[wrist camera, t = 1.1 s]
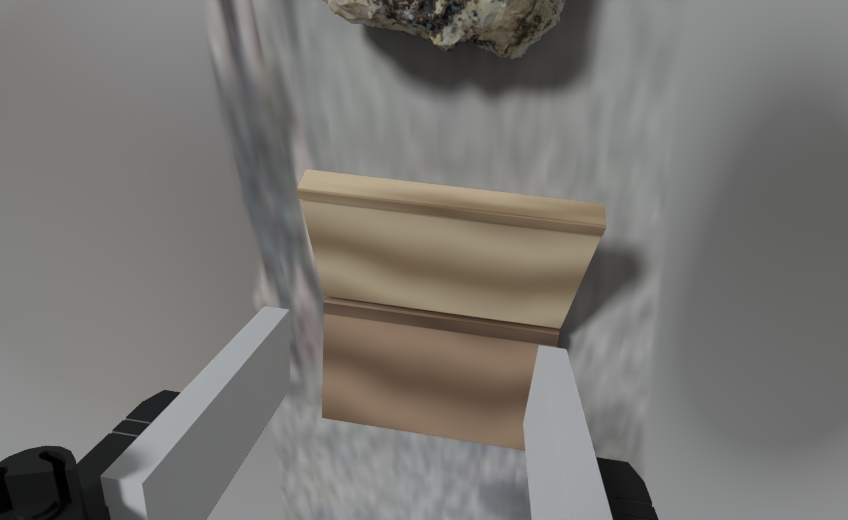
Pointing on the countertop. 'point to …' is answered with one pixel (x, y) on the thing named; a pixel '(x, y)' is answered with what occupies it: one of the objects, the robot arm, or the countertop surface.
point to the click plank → (449, 246)
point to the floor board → (429, 371)
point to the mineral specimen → (460, 20)
